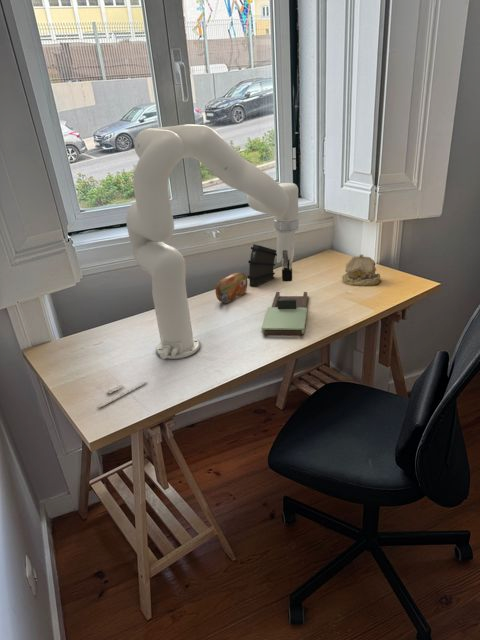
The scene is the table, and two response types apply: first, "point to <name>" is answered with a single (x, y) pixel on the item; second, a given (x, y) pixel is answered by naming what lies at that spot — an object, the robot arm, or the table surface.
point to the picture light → (120, 392)
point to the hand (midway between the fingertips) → (287, 280)
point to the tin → (231, 287)
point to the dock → (300, 304)
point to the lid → (285, 316)
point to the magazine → (261, 264)
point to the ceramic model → (361, 271)
